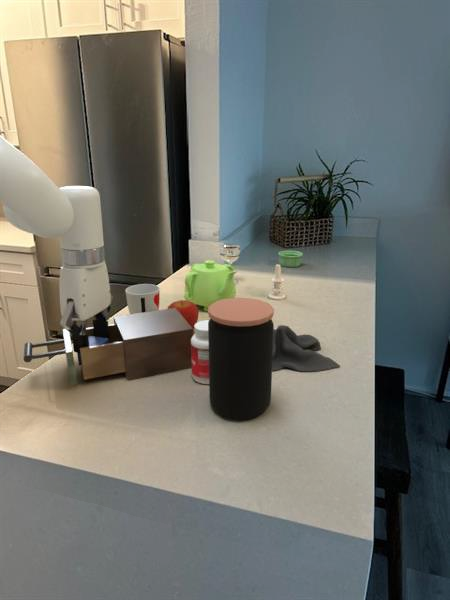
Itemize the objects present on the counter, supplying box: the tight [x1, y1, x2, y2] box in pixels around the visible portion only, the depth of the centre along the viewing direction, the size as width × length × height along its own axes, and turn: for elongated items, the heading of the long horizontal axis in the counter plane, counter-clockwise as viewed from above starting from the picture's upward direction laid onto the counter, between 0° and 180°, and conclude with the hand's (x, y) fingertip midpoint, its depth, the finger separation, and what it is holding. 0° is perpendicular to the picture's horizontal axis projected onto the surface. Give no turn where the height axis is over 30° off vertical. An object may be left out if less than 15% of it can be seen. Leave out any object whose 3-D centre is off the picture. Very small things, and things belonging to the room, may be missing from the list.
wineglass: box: [219, 243, 242, 285], centre depth 140 cm, size 7×7×12 cm
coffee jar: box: [207, 297, 275, 421], centre depth 72 cm, size 11×11×18 cm
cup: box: [125, 283, 161, 314], centre depth 106 cm, size 8×8×10 cm
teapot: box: [183, 259, 238, 312], centre depth 120 cm, size 16×14×13 cm
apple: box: [167, 299, 200, 331], centre depth 103 cm, size 8×8×8 cm
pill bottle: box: [191, 319, 210, 385], centre depth 82 cm, size 6×6×11 cm
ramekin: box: [278, 250, 304, 268], centre depth 161 cm, size 9×9×4 cm
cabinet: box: [113, 308, 194, 381], centre depth 89 cm, size 14×13×9 cm
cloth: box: [272, 324, 341, 373], centre depth 92 cm, size 22×19×6 cm
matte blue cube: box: [76, 336, 109, 367], centre depth 85 cm, size 4×4×4 cm
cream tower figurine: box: [267, 262, 287, 301], centre depth 126 cm, size 5×5×10 cm
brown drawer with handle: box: [23, 323, 126, 386], centre depth 84 cm, size 20×11×7 cm, turn 112°
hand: (92, 344), depth 85 cm, fingers open, 6 cm apart
